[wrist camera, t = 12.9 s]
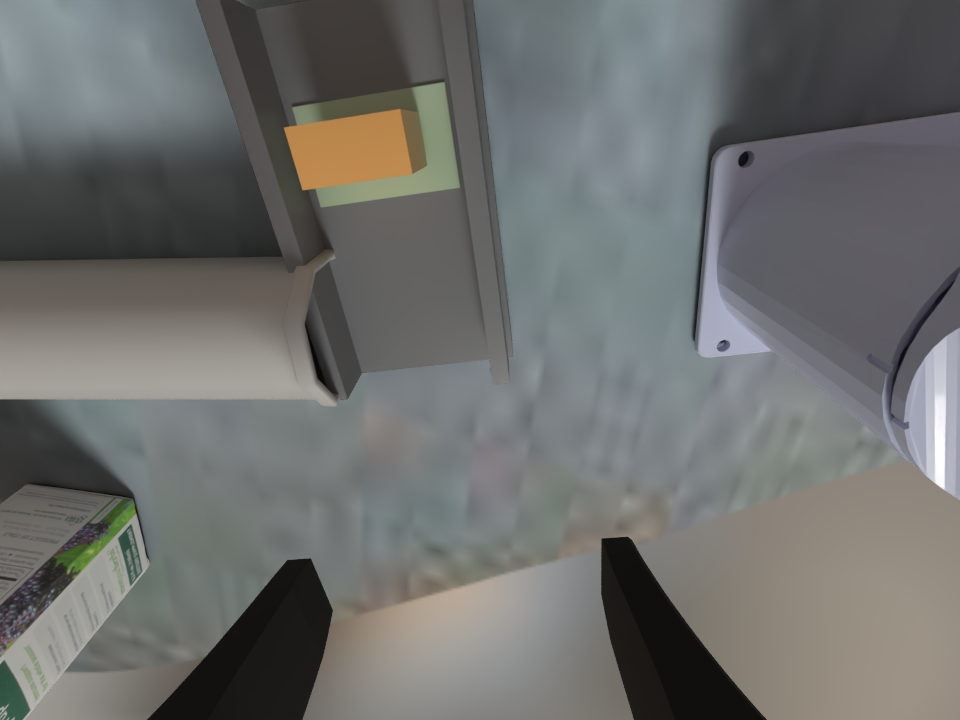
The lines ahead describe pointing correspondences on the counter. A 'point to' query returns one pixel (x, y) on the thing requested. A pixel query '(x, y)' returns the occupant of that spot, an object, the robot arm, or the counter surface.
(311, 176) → the switch knob
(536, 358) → the counter surface
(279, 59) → the grey open tray
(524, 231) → the counter surface
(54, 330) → the tube
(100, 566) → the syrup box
